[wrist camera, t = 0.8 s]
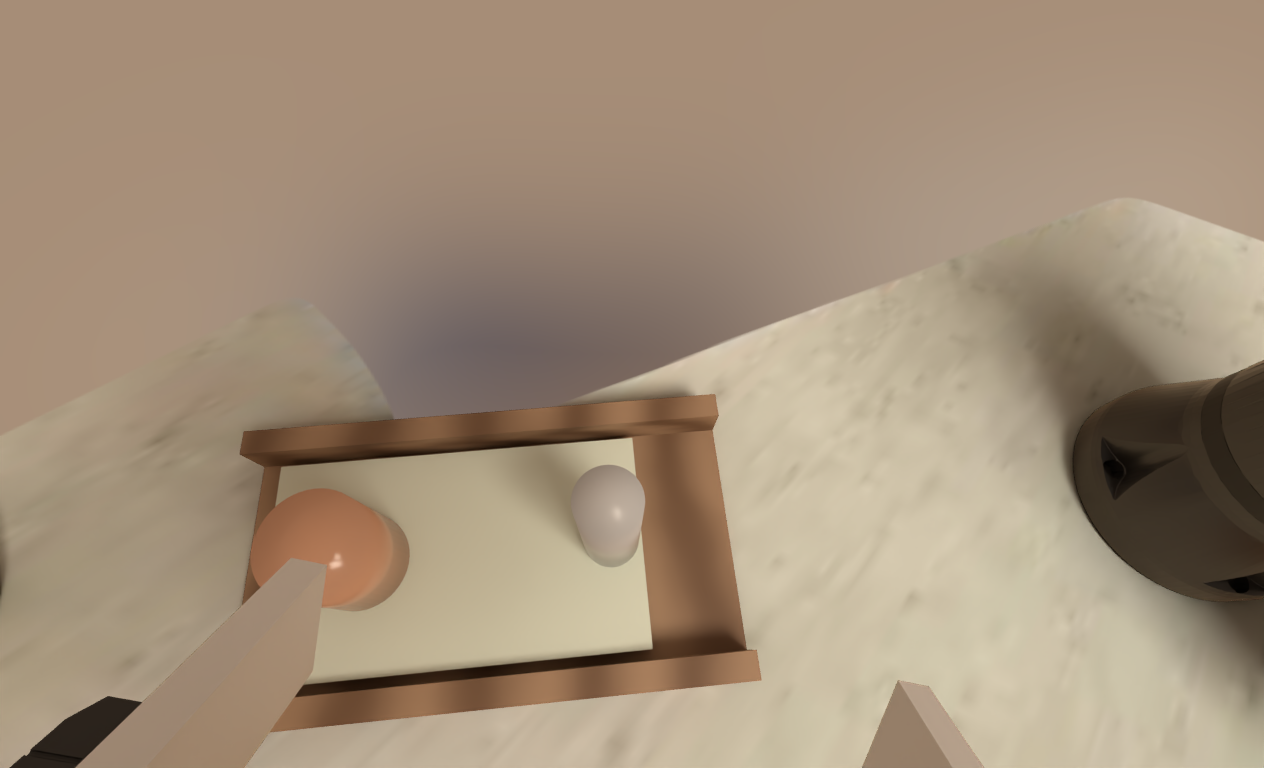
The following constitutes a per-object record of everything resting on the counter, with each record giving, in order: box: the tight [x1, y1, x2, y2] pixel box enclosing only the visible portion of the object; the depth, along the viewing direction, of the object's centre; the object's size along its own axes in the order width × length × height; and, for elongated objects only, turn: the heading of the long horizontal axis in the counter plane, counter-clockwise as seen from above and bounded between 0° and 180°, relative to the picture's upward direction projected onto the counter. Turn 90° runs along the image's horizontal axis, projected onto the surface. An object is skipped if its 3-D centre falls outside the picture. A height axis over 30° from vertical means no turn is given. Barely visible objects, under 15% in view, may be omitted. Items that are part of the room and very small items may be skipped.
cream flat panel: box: [275, 438, 653, 685], centre depth 34 cm, size 24×14×12 cm, turn 95°
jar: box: [251, 488, 410, 611], centre depth 35 cm, size 6×6×7 cm
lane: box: [240, 394, 761, 732], centre depth 39 cm, size 32×18×4 cm, turn 95°
